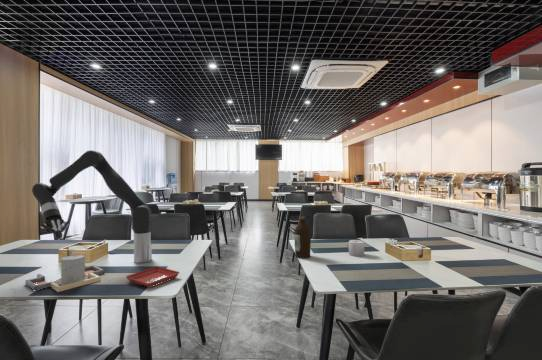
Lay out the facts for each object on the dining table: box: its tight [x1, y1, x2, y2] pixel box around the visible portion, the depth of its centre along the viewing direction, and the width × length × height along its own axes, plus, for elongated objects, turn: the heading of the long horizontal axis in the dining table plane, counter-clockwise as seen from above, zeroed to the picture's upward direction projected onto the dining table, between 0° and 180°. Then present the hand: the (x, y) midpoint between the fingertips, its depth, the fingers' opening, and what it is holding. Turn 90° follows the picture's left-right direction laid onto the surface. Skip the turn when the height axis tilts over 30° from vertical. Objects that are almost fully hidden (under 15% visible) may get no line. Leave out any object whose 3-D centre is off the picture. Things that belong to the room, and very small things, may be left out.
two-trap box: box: [25, 264, 105, 293], centre depth 144 cm, size 29×29×2 cm
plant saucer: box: [125, 266, 180, 288], centre depth 143 cm, size 18×18×3 cm
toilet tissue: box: [346, 239, 365, 258], centre depth 189 cm, size 9×13×9 cm
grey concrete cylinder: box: [60, 254, 86, 286], centre depth 139 cm, size 10×10×12 cm
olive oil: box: [293, 216, 312, 259], centre depth 184 cm, size 11×11×25 cm
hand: (59, 238), depth 150 cm, fingers closed
